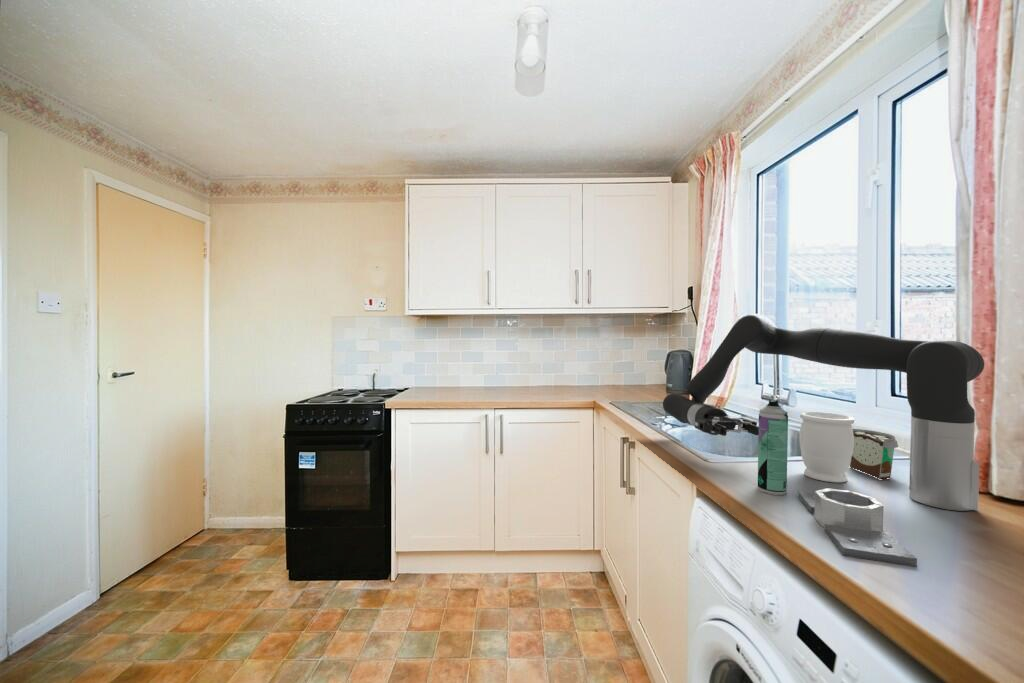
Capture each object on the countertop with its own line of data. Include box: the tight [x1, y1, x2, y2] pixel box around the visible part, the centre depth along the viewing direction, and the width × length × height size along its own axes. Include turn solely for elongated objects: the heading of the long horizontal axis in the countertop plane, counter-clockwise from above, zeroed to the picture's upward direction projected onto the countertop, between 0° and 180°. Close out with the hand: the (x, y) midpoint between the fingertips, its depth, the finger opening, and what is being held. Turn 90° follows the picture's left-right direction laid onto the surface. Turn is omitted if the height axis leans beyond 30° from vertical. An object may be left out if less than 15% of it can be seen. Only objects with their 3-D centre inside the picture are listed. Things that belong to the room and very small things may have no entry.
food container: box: [849, 428, 899, 479], centre depth 107 cm, size 12×6×10 cm, turn 179°
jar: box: [798, 411, 855, 484], centre depth 104 cm, size 11×10×15 cm
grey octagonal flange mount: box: [797, 487, 918, 568], centre depth 78 cm, size 9×26×5 cm, turn 160°
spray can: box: [757, 399, 789, 496], centre depth 95 cm, size 6×6×20 cm
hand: (742, 431), depth 106 cm, fingers open, 8 cm apart
